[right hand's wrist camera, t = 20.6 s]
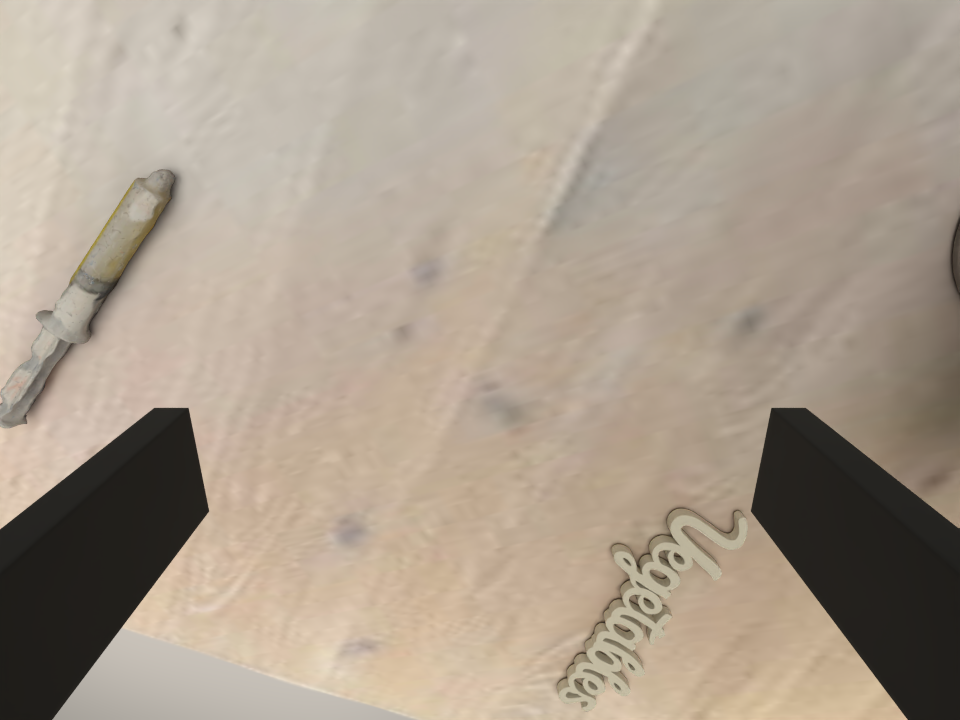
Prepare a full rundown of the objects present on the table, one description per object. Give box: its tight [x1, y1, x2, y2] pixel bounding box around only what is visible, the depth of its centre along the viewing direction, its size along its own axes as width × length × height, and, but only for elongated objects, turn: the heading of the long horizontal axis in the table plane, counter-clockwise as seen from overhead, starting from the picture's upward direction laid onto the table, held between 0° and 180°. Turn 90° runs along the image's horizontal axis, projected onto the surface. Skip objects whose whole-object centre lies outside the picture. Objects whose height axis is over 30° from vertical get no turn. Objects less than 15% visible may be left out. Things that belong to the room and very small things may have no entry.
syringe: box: [0, 169, 175, 428], centre depth 42 cm, size 25×4×3 cm, turn 136°
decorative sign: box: [557, 509, 748, 711], centre depth 53 cm, size 26×1×10 cm
